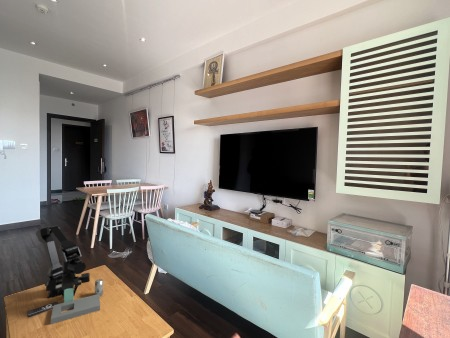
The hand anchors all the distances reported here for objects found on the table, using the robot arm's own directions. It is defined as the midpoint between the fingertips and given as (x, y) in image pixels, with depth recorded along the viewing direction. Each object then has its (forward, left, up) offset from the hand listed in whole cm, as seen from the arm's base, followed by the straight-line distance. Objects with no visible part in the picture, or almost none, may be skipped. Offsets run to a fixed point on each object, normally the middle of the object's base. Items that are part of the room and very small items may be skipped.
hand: (68, 296), depth 117 cm
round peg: (+1, +14, -3) cm, 14 cm away
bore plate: (+10, +4, -3) cm, 11 cm away
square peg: (0, 0, -3) cm, 3 cm away
